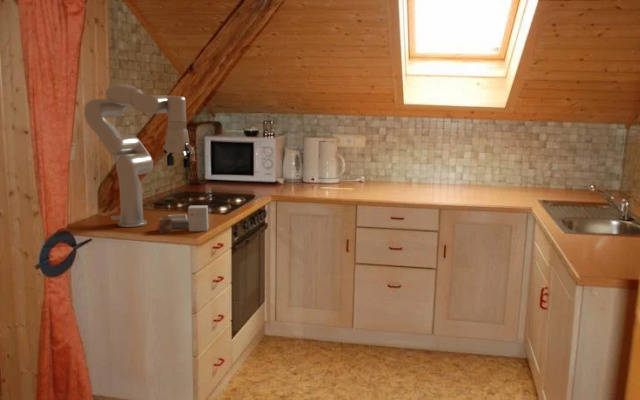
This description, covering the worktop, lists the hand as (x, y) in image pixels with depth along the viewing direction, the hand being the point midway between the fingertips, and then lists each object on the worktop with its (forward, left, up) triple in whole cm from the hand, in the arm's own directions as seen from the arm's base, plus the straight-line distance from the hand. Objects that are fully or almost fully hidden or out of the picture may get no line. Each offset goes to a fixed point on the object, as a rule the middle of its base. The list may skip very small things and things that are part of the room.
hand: (178, 166), depth 260 cm
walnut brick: (-6, +1, -28) cm, 29 cm away
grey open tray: (-1, +11, -28) cm, 31 cm away
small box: (+8, +1, -29) cm, 30 cm away
